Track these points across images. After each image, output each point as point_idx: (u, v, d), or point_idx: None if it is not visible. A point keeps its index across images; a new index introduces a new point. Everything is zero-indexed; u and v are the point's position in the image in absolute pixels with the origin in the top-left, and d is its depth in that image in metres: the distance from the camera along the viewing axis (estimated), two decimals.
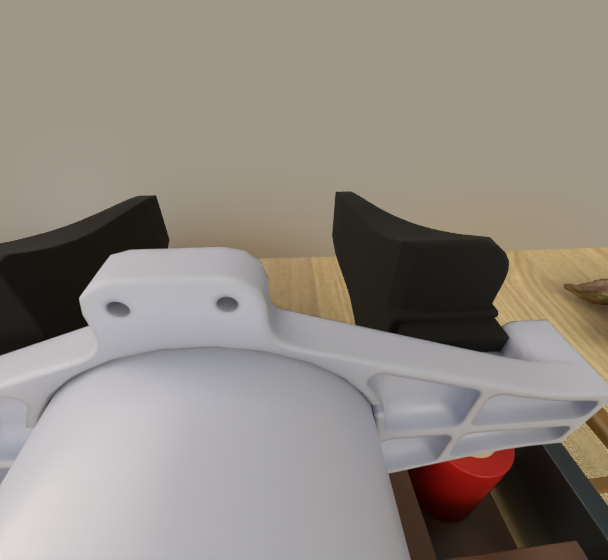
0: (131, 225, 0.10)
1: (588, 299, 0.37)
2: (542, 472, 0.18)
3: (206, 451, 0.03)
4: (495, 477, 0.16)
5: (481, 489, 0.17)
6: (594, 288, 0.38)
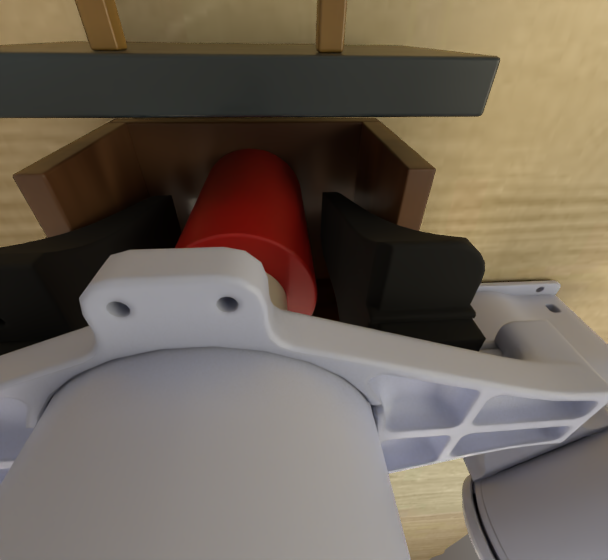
0: (150, 225, 0.10)
1: None
2: None
3: (206, 451, 0.03)
4: (316, 291, 0.09)
5: None
6: None
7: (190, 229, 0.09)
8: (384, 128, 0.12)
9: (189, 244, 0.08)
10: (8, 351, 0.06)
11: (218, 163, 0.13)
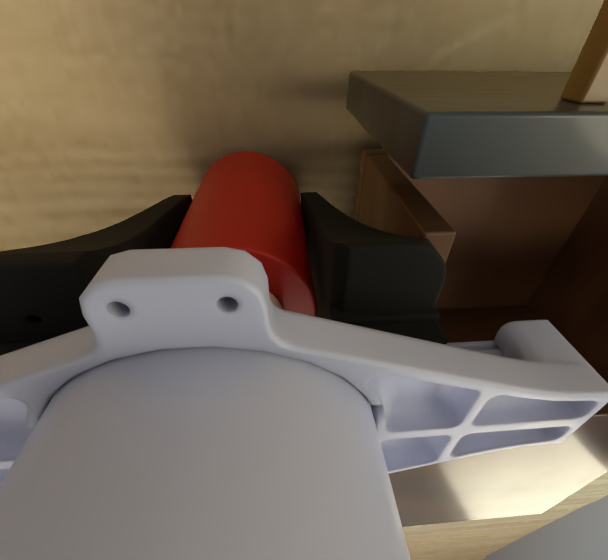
0: (172, 224, 0.10)
1: None
2: None
3: (206, 450, 0.03)
4: (316, 305, 0.09)
5: None
6: None
7: (180, 240, 0.08)
8: None
9: None
10: None
11: (212, 167, 0.12)
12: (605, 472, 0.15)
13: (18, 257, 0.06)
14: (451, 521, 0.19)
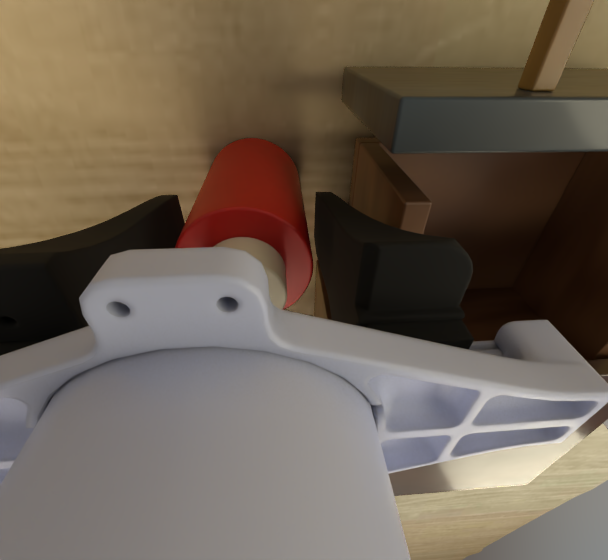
0: (156, 224, 0.10)
1: None
2: None
3: (206, 451, 0.03)
4: (312, 262, 0.10)
5: None
6: None
7: (199, 205, 0.10)
8: None
9: (200, 217, 0.09)
10: None
11: (222, 151, 0.14)
12: (582, 439, 0.17)
13: None
14: (441, 491, 0.20)
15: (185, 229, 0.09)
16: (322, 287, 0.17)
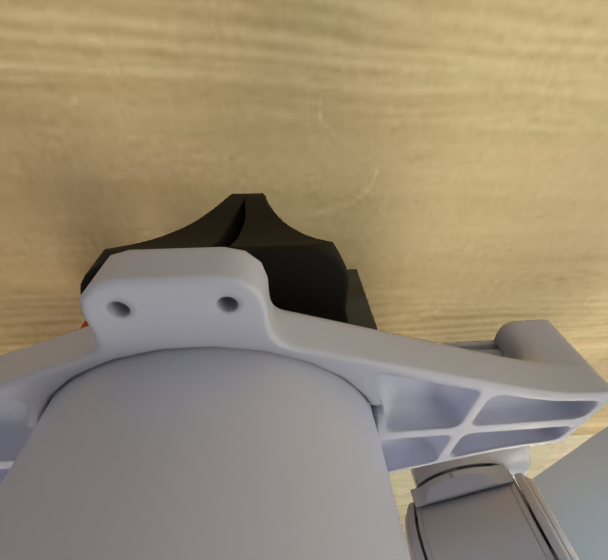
0: (239, 222, 0.10)
1: None
2: None
3: (206, 451, 0.03)
4: None
5: None
6: None
7: None
8: None
9: None
10: None
11: None
12: None
13: None
14: None
15: None
16: None
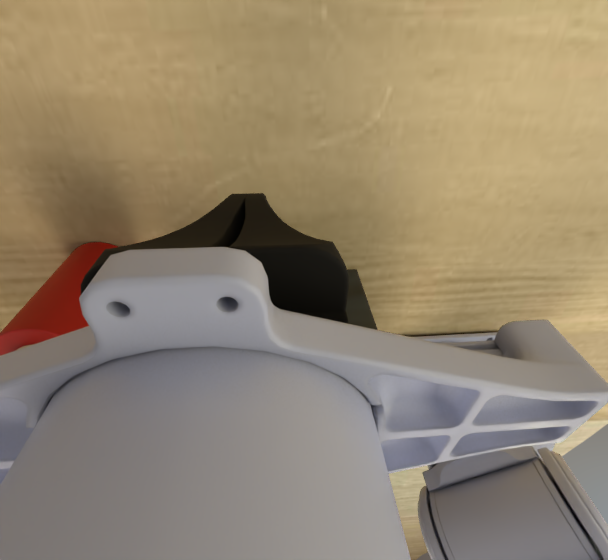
0: (239, 222, 0.10)
1: None
2: None
3: (206, 450, 0.03)
4: None
5: None
6: None
7: (11, 320, 0.14)
8: None
9: (0, 334, 0.14)
10: None
11: (71, 253, 0.19)
12: None
13: None
14: None
15: None
16: None
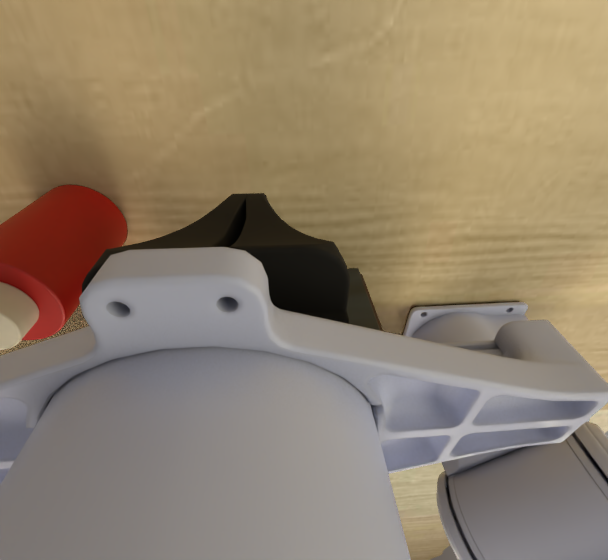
0: (240, 222, 0.10)
1: None
2: None
3: (206, 451, 0.03)
4: (58, 296, 0.13)
5: (79, 278, 0.14)
6: None
7: None
8: None
9: None
10: None
11: None
12: None
13: None
14: None
15: None
16: None
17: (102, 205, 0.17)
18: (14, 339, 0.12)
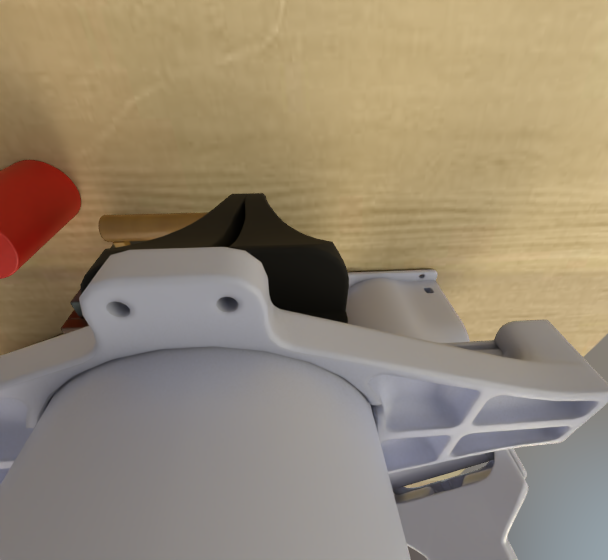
0: (239, 222, 0.10)
1: None
2: None
3: (206, 450, 0.03)
4: (11, 242, 0.16)
5: (31, 231, 0.18)
6: None
7: None
8: None
9: None
10: None
11: None
12: None
13: None
14: None
15: None
16: None
17: (56, 177, 0.20)
18: None
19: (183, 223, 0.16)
